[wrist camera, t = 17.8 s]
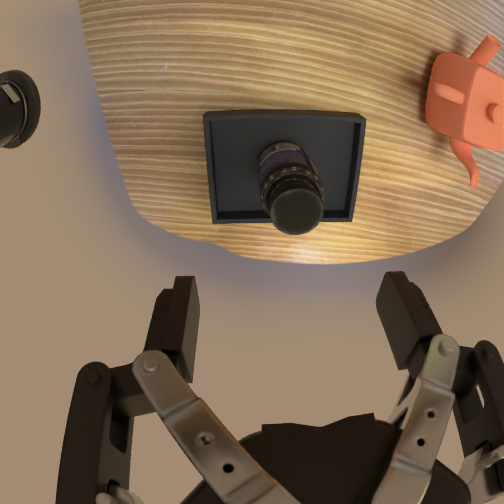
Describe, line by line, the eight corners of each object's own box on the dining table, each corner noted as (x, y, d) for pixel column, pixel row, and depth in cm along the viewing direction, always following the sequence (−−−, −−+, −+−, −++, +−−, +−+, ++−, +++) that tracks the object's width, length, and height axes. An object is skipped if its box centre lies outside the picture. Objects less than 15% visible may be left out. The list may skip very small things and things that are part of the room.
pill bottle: (246, 171, 35) (246, 221, 27) (277, 129, 32) (289, 165, 24) (289, 196, 37) (302, 252, 29) (320, 158, 34) (346, 204, 26)
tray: (214, 213, 39) (212, 224, 37) (206, 111, 31) (202, 116, 29) (346, 211, 39) (352, 222, 37) (358, 113, 31) (366, 118, 29)
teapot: (390, 59, 27) (437, 69, 19) (460, 28, 23) (514, 36, 15) (433, 157, 34) (475, 194, 26) (492, 123, 30) (539, 152, 22)
